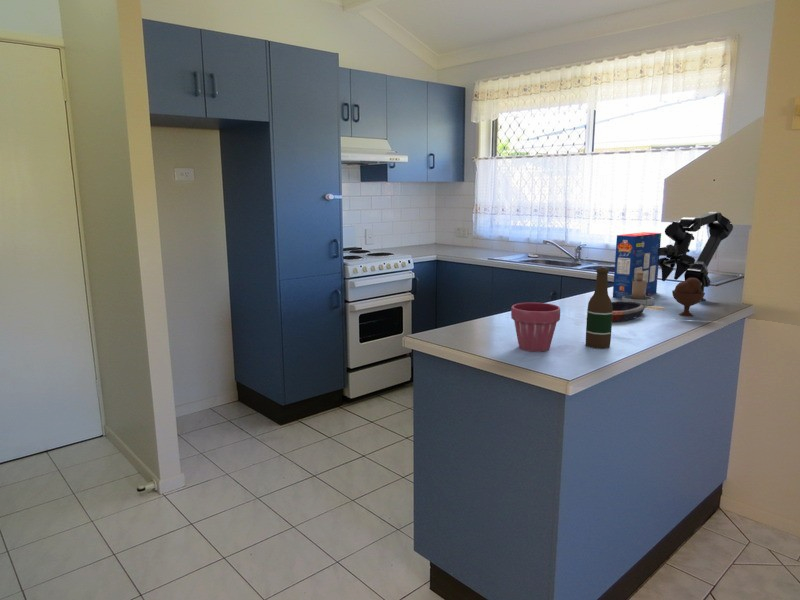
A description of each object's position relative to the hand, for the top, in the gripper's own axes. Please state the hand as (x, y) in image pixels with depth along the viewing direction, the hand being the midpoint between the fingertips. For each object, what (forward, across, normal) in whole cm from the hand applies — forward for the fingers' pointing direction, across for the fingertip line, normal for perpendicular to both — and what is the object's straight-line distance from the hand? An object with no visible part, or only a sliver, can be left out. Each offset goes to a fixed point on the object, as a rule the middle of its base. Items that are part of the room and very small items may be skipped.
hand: (669, 280), depth 242 cm
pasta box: (+6, -24, 0) cm, 24 cm away
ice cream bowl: (+16, +21, 0) cm, 27 cm away
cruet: (+13, -3, -8) cm, 15 cm away
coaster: (+15, +7, -5) cm, 18 cm away
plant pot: (+52, +59, -64) cm, 101 cm away
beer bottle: (+44, +58, -45) cm, 86 cm away
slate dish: (+14, -4, -8) cm, 16 cm away
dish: (+27, +19, -25) cm, 41 cm away
